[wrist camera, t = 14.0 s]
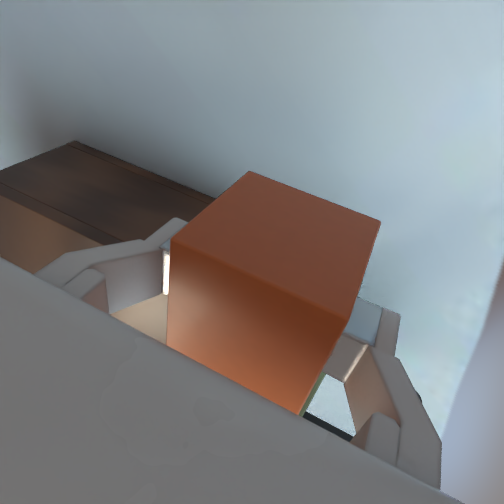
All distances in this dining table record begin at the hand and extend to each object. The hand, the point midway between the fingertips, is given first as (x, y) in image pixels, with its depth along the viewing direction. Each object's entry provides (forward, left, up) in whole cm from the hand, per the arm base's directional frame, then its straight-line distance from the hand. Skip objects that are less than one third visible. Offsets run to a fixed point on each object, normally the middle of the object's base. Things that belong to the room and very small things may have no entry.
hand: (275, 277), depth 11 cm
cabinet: (-12, +12, -10) cm, 20 cm away
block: (0, 0, -2) cm, 2 cm away
